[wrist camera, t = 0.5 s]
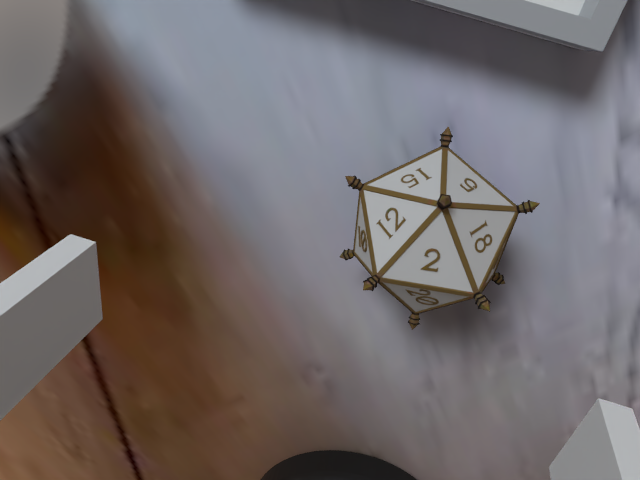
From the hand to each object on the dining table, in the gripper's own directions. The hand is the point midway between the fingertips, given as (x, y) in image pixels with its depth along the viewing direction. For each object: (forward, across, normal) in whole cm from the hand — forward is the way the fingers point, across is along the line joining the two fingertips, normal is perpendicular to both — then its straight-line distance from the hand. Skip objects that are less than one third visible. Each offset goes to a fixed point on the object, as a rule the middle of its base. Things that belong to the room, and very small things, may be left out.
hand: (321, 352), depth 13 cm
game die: (+16, -2, +3) cm, 16 cm away
